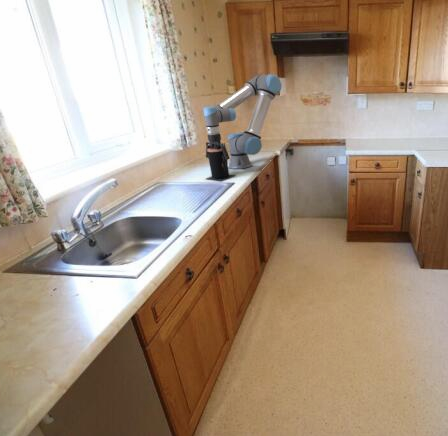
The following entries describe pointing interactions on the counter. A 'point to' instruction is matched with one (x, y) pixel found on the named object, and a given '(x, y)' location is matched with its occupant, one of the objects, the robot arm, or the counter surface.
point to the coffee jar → (217, 164)
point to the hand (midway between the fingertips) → (219, 169)
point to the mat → (220, 179)
